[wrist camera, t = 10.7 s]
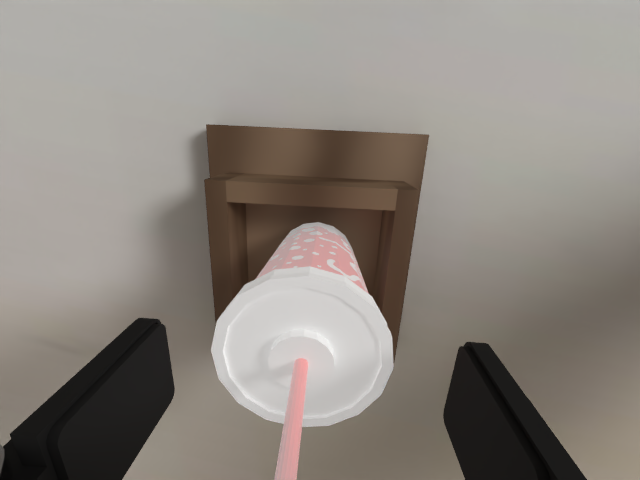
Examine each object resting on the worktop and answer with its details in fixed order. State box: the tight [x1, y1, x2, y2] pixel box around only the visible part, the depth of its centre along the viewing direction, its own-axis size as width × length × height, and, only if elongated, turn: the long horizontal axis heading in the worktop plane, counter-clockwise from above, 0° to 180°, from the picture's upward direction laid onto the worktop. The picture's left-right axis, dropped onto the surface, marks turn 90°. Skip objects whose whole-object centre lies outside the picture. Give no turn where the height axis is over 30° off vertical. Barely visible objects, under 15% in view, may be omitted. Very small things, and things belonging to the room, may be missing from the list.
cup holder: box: [204, 125, 429, 363], centre depth 18 cm, size 12×15×4 cm
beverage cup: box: [211, 222, 394, 480], centre depth 12 cm, size 6×6×14 cm
